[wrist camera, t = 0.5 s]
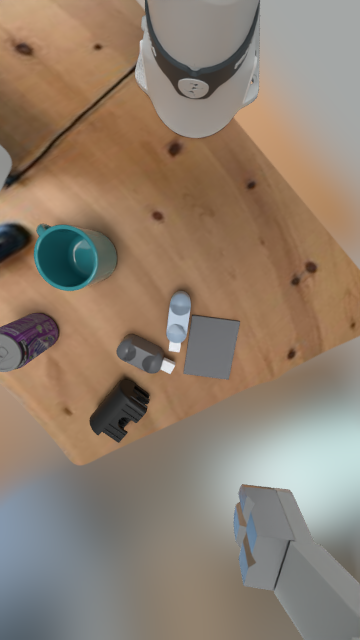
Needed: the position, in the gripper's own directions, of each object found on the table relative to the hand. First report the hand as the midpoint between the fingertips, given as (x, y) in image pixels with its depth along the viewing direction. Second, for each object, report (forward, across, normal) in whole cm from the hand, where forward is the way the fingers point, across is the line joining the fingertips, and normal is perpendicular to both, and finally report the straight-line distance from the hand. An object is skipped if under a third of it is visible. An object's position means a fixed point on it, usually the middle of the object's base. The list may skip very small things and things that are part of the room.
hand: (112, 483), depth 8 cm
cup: (+42, +16, -5) cm, 46 cm away
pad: (+42, -9, +10) cm, 44 cm away
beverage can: (+42, +24, +11) cm, 50 cm away
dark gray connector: (+42, +3, +12) cm, 44 cm away
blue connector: (+42, -2, +5) cm, 42 cm away
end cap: (+42, +7, +24) cm, 49 cm away
